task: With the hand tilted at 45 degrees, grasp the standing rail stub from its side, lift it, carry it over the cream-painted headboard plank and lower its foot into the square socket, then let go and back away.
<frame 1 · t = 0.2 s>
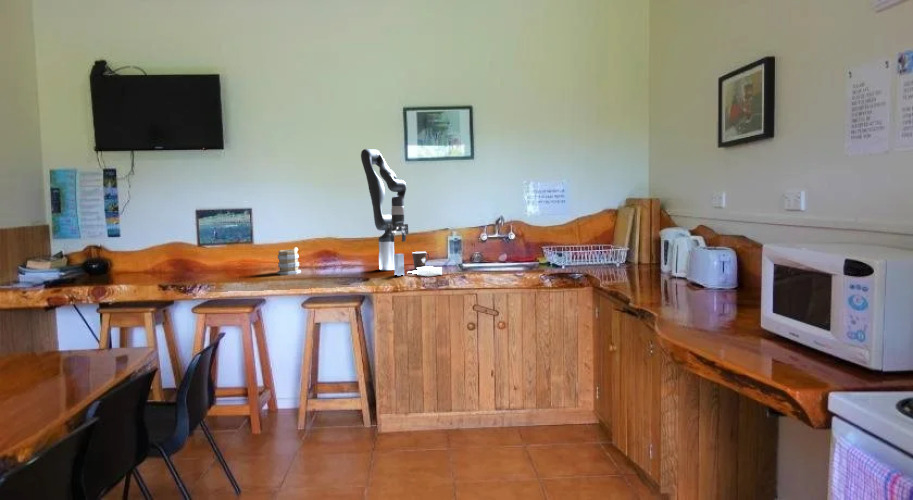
hand: (398, 241, 342), 18 cm above the countertop, tool pointing down, fingers open, 8 cm apart
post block: (429, 274, 325), on the countertop
tankard: (292, 272, 355), on the countertop
rail: (399, 275, 327), on the countertop
coffee mug: (422, 269, 354), on the countertop
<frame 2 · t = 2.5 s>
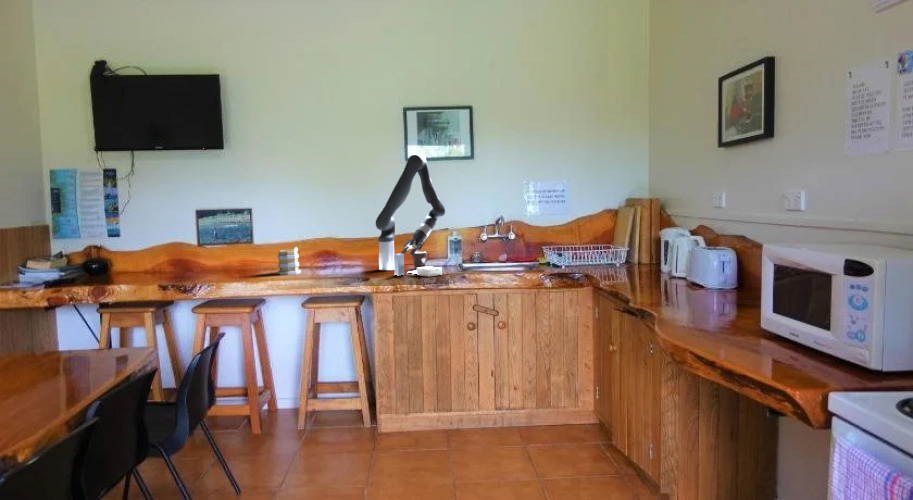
hand: (406, 254, 329), 11 cm above the countertop, tool tilted 45°, fingers open, 8 cm apart
nothing on the countertop moved.
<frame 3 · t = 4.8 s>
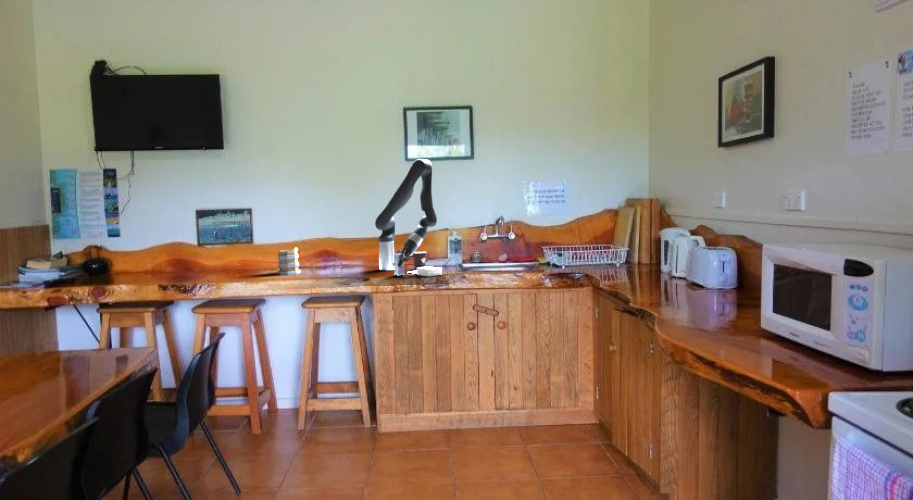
hand: (396, 265, 325), 6 cm above the countertop, tool tilted 45°, fingers closed on rail, 4 cm apart
rail: (399, 275, 327), on the countertop, touching gripper
everything else where it was.
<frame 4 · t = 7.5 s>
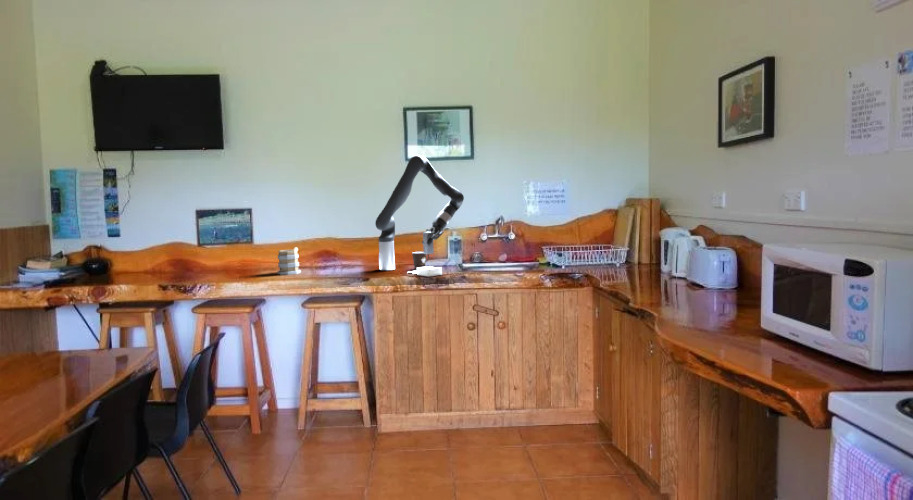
hand: (425, 243, 323), 17 cm above the countertop, tool tilted 45°, fingers closed on rail, 4 cm apart
rail: (428, 253, 324), point 12 cm above the countertop, touching gripper
everything else where it was.
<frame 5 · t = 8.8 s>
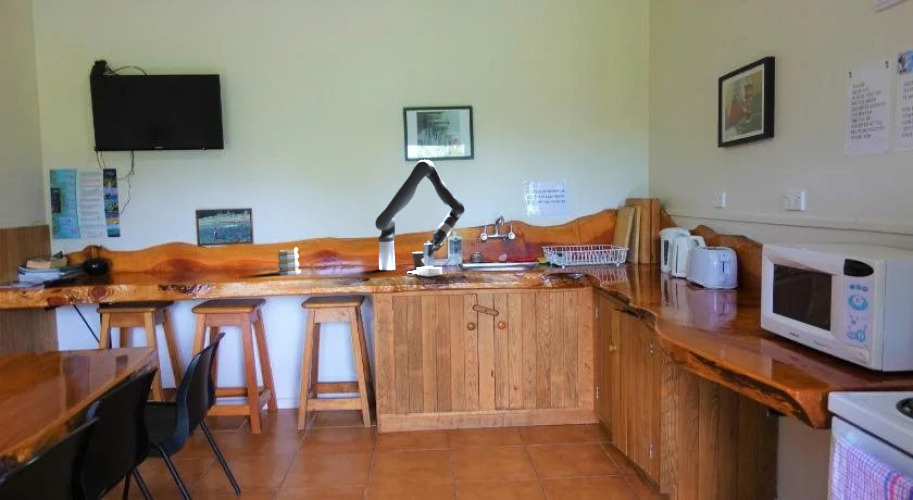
hand: (426, 255, 323), 11 cm above the countertop, tool tilted 45°, fingers closed on rail, 4 cm apart
rail: (429, 265, 325), point 5 cm above the countertop, touching gripper
everything else where it was.
when the fingers open (7 cm above the countertop, at t = 10.1 s): rail stays where it is, resting on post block.
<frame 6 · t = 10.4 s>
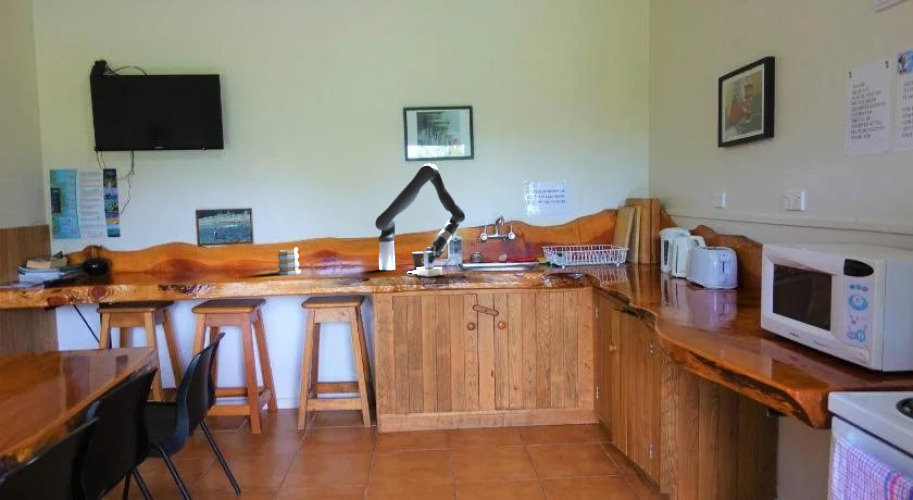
hand: (426, 262, 324), 7 cm above the countertop, tool tilted 45°, fingers open, 6 cm apart
rail: (429, 273, 325), point 1 cm above the countertop, touching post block
everything else where it was.
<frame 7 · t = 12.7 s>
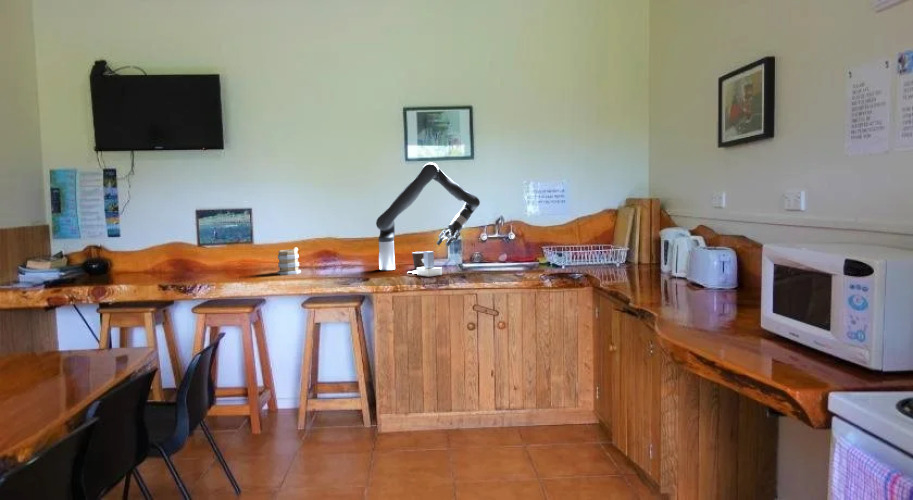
hand: (442, 244, 333), 16 cm above the countertop, tool tilted 45°, fingers open, 8 cm apart
nothing on the countertop moved.
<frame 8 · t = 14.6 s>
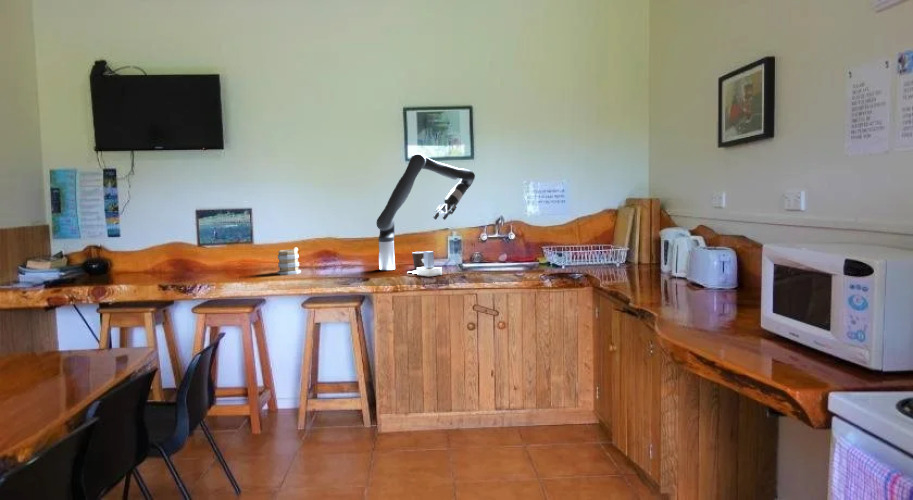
hand: (438, 218, 335), 31 cm above the countertop, tool tilted 45°, fingers open, 8 cm apart
nothing on the countertop moved.
at the end: rail 0.1 cm off-centre on the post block, point 1.0 cm above the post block's base; rail tilted 0°; the gripper is holding nothing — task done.
